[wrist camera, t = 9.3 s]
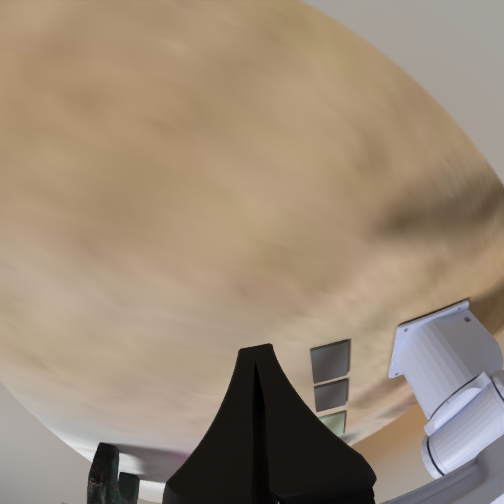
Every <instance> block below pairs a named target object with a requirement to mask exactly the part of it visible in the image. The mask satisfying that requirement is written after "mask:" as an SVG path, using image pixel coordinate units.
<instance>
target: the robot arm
mask: <svg viewBox="0 0 504 504" xmlns="http://www.w3.org/2000/svg"><path fill="white" fill-rule="evenodd" d="M468 307H469V302H468V301H467V300H465V301H463V302H460V303H458V304H456V305H453V306H451V307H448V308H446V309H443V310H441V311H438V312H436V313H433V314H430V315H428V316H425V317H422V318H420V319H417V320H414V321H411V322H408V323H405V324H403V325H400V326H399V327H398V328H397V330H396V335H395V341H394V347H393V353H392V359H391V364H390V369H389V374H388V376H389V378H394V377H397V376H399V375H402V374H404V376H405V378H406V380H407V381H408V383H409V385H410V387H411V389H412V391H413V393H414V394H415V396H416V398H417V400H418V402H419V404H420V406H421V408H422V410H423V412H424V414H425V416H426V417H427V420H428V423H427V424H426V425H425V426H424V429H425V431H426V433H427V435H426V436H425V437H424V438H423V441H422V450H421V453H422V459H423V462H424V464H425V467H426V469H427V470H428V472H429V473H430V474H431V476H432V477H433V478H435V479H436V480H434V481H432V482H430V483H428V484H426V485H424V486H422V487H420V488H417V489H415V490H413V491H411V492H408V493H406V494H404V495H401V496H399V497H396V498H394V499H392V500H389V501H386V502H383V503H380V504H504V370H502V368H503V356H502V352H501V349H500V346H499V345H498V342H497V341H496V339H495V338H494V337H493V336H492V335H491V334H490V332H489V331H488V330H487V329H486V328H485V327H484V326H483V325H482V323H481V322H480V321H479V320H478V319H477V318H476V317H475V316H474V315H473V314H472V313H471V311H470V310H469V309H468ZM376 479H377V478H376V475H375V473H374V471H373V470H372V468H371V466H370V465H369V464H368V463H367V461H366V460H365V459H364V458H363V456H362V455H361V454H359V453H358V452H357V451H355V450H354V449H352V448H351V447H350V446H349V445H347V444H346V443H345V442H343V441H342V440H341V439H340V438H339V437H337V436H336V435H335V434H334V433H333V432H332V431H331V430H330V429H329V428H328V427H327V426H326V425H324V424H323V423H322V422H321V421H320V420H319V419H318V418H317V416H316V415H315V414H314V413H313V412H312V411H311V410H310V409H309V407H308V406H307V405H306V404H305V403H304V401H303V400H302V399H301V398H300V396H299V395H298V393H297V392H296V391H295V389H294V388H293V386H292V385H291V383H290V382H289V380H288V379H287V377H286V375H285V374H284V372H283V370H282V368H281V366H280V364H279V362H278V360H277V358H276V356H275V353H274V350H273V345H272V344H270V343H268V344H263V345H258V346H253V347H247V348H242V349H240V350H239V351H238V356H237V361H236V365H235V369H234V372H233V375H232V378H231V381H230V384H229V387H228V390H227V392H226V395H225V397H224V400H223V402H222V404H221V407H220V409H219V411H218V413H217V415H216V417H215V419H214V421H213V422H212V424H211V426H210V428H209V429H208V431H207V433H206V434H205V436H204V437H203V439H202V440H201V442H200V443H199V445H198V446H197V448H196V449H195V450H194V451H193V453H192V454H191V455H190V457H189V458H188V459H187V460H186V462H185V463H184V464H183V465H182V466H181V467H180V468H179V469H178V470H177V471H176V472H175V474H174V475H173V476H172V477H171V478H170V479H169V480H168V481H167V482H166V485H165V489H164V493H163V501H162V504H278V502H279V504H375V500H374V491H373V488H372V487H373V485H374V483H375V482H376ZM61 504H66V503H63V502H62V503H61Z"/></svg>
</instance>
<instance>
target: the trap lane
mask: <svg viewBox="0 0 504 504" xmlns="http://www.w3.org/2000/svg"><path fill="white" fill-rule="evenodd" d="M310 352H311V362H312V371H313V382H314V384H315V383H319V382H323V381H327V380H331V379H334V378H338V377H342V376H345V375H347V371H348V340H344V341H340V342H336V343H333V344H329V345H325V346H321V347H317V348H313V349H310ZM346 391H347V379H343V380H339V381H335V382H332V383H328V384H324V385H320V386H316V387H314V393H315V404H316V412H320V411H324V410H328V409H331V408H335V407H339V406H342V405H346ZM344 418H345V411H342V412H338V413H335V414H331V415H327V416H323V417H319V418H318V419H319V420H320V421H321V422H322V423H323V424H324V425H326V426H327V427H328V428H329V429H330V430H331V431H332V432H333V433H334V434H335V435H336V436H337V437H339V436H343V429H344Z"/></svg>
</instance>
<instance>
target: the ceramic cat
mask: <svg viewBox="0 0 504 504" xmlns="http://www.w3.org/2000/svg"><path fill="white" fill-rule="evenodd" d="M118 466H119V450H118V449H117V448H116V447H115V446H112V445H107V444H103V443H99V445H98V448H97V451H96V453H95V456H94V459H93V463H92V465H91V469H90V472H89V476H88V487H87V504H137V500H138V494H139V483H140V480H139V478H138V477H137V476H136V475H132V474H128V473H123V472H120V474H119V479H118Z"/></svg>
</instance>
